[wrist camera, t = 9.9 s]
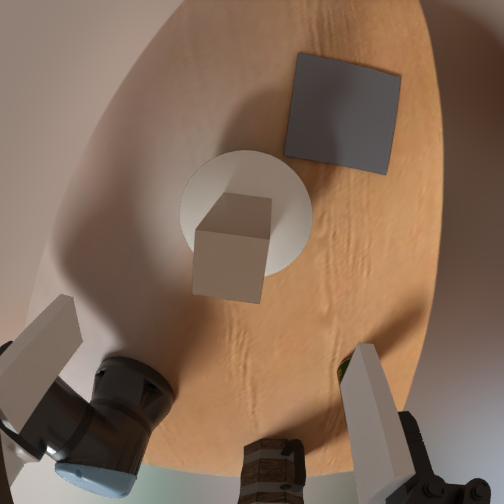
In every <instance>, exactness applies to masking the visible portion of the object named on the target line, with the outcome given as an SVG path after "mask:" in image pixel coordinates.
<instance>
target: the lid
mask: <svg viewBox="0 0 504 504" xmlns="http://www.w3.org/2000/svg"><path fill="white" fill-rule="evenodd" d="M312 221H313V212H312V205H311V200H310V197H309V194H308V192H307V190H306V187H305V185H304V183H303V182H302V180H301V179H300V177H299V176H298V175H297V174H296V172H295V171H294V170H293V169H292V168H291V167H290V166H288V165H287V164H286V163H285V162H283V161H282V160H280V159H278V158H276V157H274V156H272V155H270V154H267V153H264V152H259V151H254V150H238V151H232V152H228V153H225V154H222V155H219V156H217V157H215V158H214V159H212V160H210V161H208V162H207V163H205V164H204V165H203V166H201V167H200V168H199V169H198V170H197V171H196V172H195V174H194V175H193V176H192V177H191V179H190V180H189V182H188V184H187V185H186V187H185V190H184V192H183V195H182V199H181V204H180V222H181V228H182V231H183V235H184V237H185V239H186V241H187V243H188V245H189V247H190V248H191V250H192V251H193V252H194V257H193V282H192V294H195V295H201V296H207V297H214V298H220V299H227V300H233V301H240V302H247V303H254V304H260V300H261V294H262V288H263V281H264V277H265V276H268V275H271V274H274V273H276V272H278V271H280V270H282V269H284V268H285V267H287V266H288V265H289V264H291V263H292V262H293V261H294V260H295V259H296V258H297V257H298V255H299V254H300V253H301V252H302V250H303V248H304V247H305V245H306V243H307V241H308V238H309V236H310V232H311V228H312Z"/></svg>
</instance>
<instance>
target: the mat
mask: <svg viewBox="0 0 504 504" xmlns="http://www.w3.org/2000/svg"><path fill="white" fill-rule="evenodd" d="M400 81H401V78H400V77H397V76H394V75H391V74H387V73H384V72H381V71H377V70H374V69H370V68H366V67H363V66H359V65H355V64H351V63H347V62H342V61H338V60H333V59H328V58H323V57H318V56H313V55H307V54H301V53H298V56H297V64H296V72H295V79H294V87H293V94H292V101H291V109H290V116H289V123H288V130H287V137H286V144H285V151H284V156H289V157H295V158H301V159H307V160H313V161H319V162H324V163H330V164H335V165H340V166H345V167H350V168H355V169H359V170H364V171H369V172H373V173H378V174H382V175H386V173H387V168H388V162H389V157H390V151H391V146H392V140H393V134H394V127H395V121H396V114H397V107H398V99H399V90H400Z"/></svg>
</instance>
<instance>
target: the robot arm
mask: <svg viewBox="0 0 504 504" xmlns="http://www.w3.org/2000/svg"><path fill="white" fill-rule="evenodd" d="M82 342H83V340H82V336H81V332H80V328H79V323H78V319H77V314H76V309H75V305H74V299H73V297H71V296H67V295H63V294H61V295H59V296H58V297H57V298H56V299H55V300H54V301H53V302H52V303H51V304H50V305H49V306H48V307H47V308H46V309H45V310H44V311H43V312H42V313H41V314H40V315H39V316H38V317H37V318H36V319H35V320H34V321H33V322H32V323H31V324H30V325H29V326H28V327H27V328H26V329H25V330H24V331H23V332H22V333H21V334H20V335H19V336H18V337H17V338H16V340H15V341H14V342H13V341H9V342H7V343H5V344H4V345H2V346H1V347H0V504H14V503H13V499H12V495H11V492H10V487H11V485H12V483H13V482H14V480H15V478H16V477H17V475H18V474H19V472H20V471H21V469H22V467H23V466H24V464H25V463H28V462H39V461H40V460H41V458H42V457H43V455H44V454H45V453H46V454H47V455H49V456H50V457H51V458H52V459H54V460H55V461H56V462H57V463H56V464H55V472H56V473H57V474H58V475H60V476H61V477H62V478H63V479H64V480H66V481H68V482H69V483H72V484H73V485H75V486H77V487H80V488H82V489H84V490H87V491H89V492H92V493H95V494H98V495H102V496H105V497H110V498H123V497H126V496H127V495H128V494H129V493H130V491H131V489H132V487H133V485H134V483H135V480H137V474H138V471H139V468H140V465H141V462H142V459H143V456H144V454H145V451H146V448H147V445H148V442H149V439H150V436H151V434H152V431H153V430H154V429H155V428H156V427H157V426H158V425H159V424H160V422H161V421H162V420H163V419H164V418H165V417H166V416H167V415H168V413H169V412H170V410H171V407H172V404H173V401H174V395H173V391H172V389H171V387H170V386H169V384H168V383H167V381H166V380H165V379H164V378H163V377H162V376H161V375H160V374H158V373H157V372H156V371H155V370H153V369H152V368H150V367H148V366H147V365H145V364H143V363H140V362H138V361H135V360H132V359H129V358H124V357H112V358H108V359H106V360H105V361H103V362H102V363H101V365H100V367H99V368H98V370H97V372H96V374H95V379H94V385H93V392H92V398H91V401H90V403H88V402H87V401H86V400H85V399H83V398H82V397H81V396H80V395H79V394H78V393H76V392H75V391H74V390H73V389H72V388H71V387H70V386H69V385H68V384H67V383H66V382H64V381H63V380H62V379H61V378H60V377H59V376H58V375H59V373H60V372H61V371H62V369H63V368H64V366H65V365H66V364H67V362H68V361H69V360H70V358H71V357H72V355H73V354H74V353H75V351H76V350H77V349H78V347H79V346H80V345H81V343H82ZM340 388H341V394H342V399H343V404H344V410H345V415H346V421H347V427H348V433H349V439H350V445H351V451H352V458H353V464H354V471H355V478H356V486H357V493H358V501H359V504H380V503H382V502H383V501H384V500H386V504H490V498H491V489H490V486H489V485H488V483H487V482H486V481H485V480H483V479H480V478H475V479H473V480H471V481H469V482H468V483H467V484H466V485H458V484H448V483H445V481H444V480H443V479H442V478H441V477H439V476H437V475H435V474H434V473H433V470H432V467H431V464H430V460H429V457H428V455H427V451H426V448H425V445H424V442H423V441H422V440H423V439H422V436H421V433H420V430H419V427H418V424H417V421H416V420H415V418H414V417H413V416H412V415H411V414H410V412H409V411H403V412H397V409H396V406H395V403H394V400H393V397H392V394H391V391H390V388H389V385H388V382H387V379H386V377H385V374H384V371H383V368H382V365H381V363H380V360H379V357H378V354H377V352H376V349H375V346H374V344H368V343H358V344H357V346H356V349H355V351H354V354H353V356H352V359H351V361H350V363H349V366H348V368H347V370H346V373H345V375H344V377H343V380H342V382H341V384H340Z"/></svg>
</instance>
